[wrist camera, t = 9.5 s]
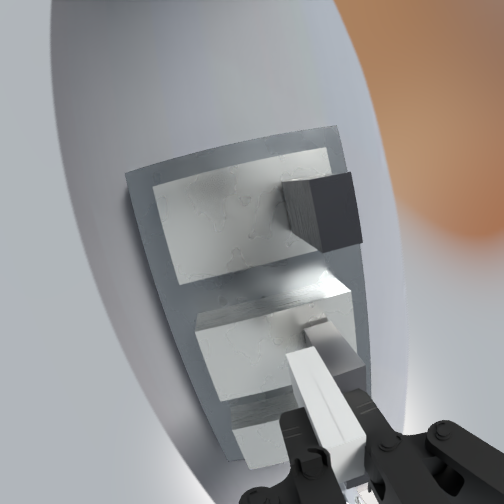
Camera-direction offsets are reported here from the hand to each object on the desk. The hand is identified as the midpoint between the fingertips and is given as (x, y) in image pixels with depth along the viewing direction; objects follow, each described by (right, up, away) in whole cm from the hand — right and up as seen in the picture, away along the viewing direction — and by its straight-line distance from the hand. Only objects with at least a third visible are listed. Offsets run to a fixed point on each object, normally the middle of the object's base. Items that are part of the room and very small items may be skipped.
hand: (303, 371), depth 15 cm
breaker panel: (-1, +1, +7) cm, 7 cm away
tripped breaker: (+1, +1, +2) cm, 3 cm away
